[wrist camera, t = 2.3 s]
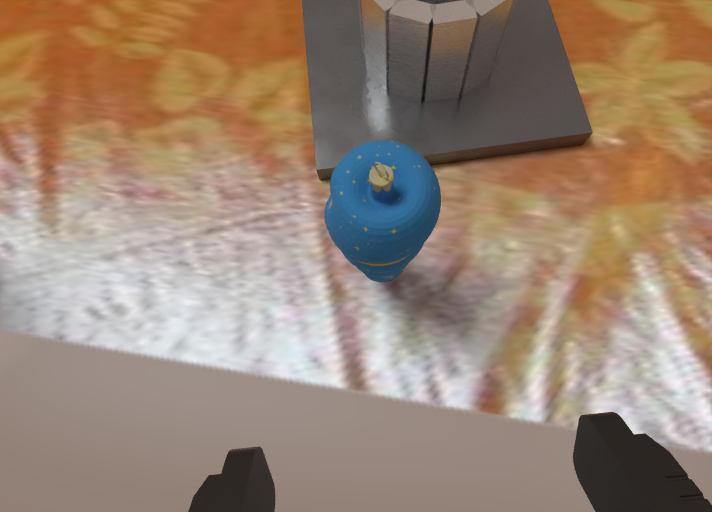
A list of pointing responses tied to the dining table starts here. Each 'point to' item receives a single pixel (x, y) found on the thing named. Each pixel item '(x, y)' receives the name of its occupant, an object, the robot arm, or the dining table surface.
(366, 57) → the tube on square plate
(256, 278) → the dining table surface
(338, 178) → the ornament
